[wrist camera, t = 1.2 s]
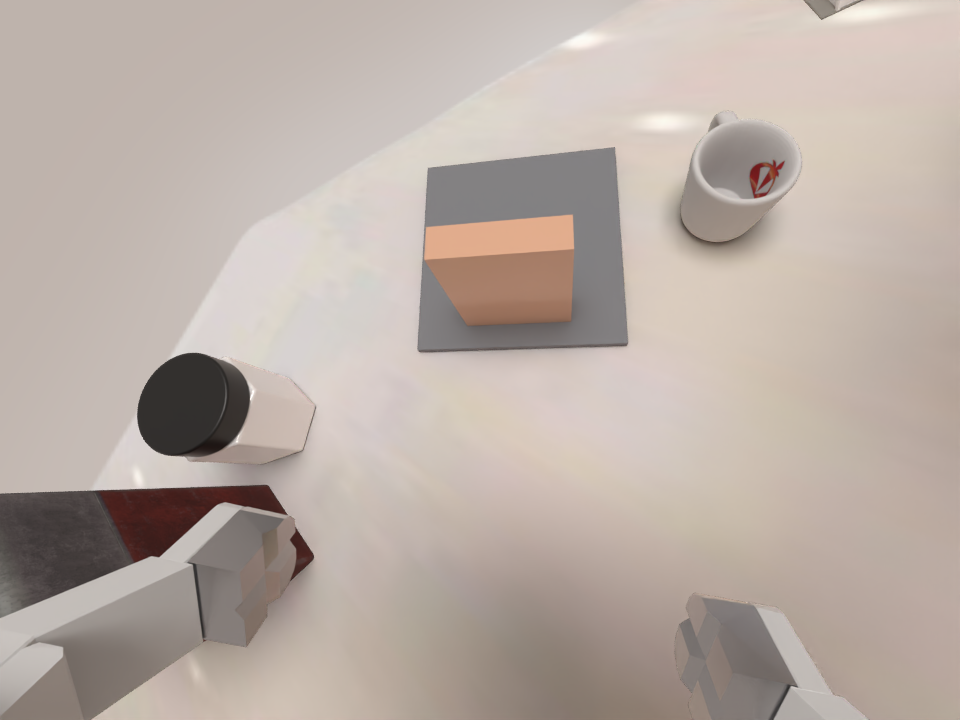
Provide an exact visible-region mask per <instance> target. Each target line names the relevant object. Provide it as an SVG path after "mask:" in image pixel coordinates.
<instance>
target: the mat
mask: <svg viewBox="0 0 960 720" xmlns="http://www.w3.org/2000/svg"><path fill="white" fill-rule="evenodd" d="M562 215H573V232H574V264H573V289H572V313H571V322H550V323H526V324H503V325H479V326H467V324H466V323H465V321H464V320H463V318H462V317H461V315H460V314H459V312H458V311H457V309H456V308H455V306H454V305H453V303H452V302H451V300H450V298H449V297H448V295H447V294H446V292H445V291H444V289H443V288H442V286H441V285H440V283H439V282H438V280H437V279H436V277H435V276H434V274H433V272H432V271H431V269H430V268H429V266H428V265H427V263H426V262H425V260H424V255H425V238H426V227H433V226H445V225H456V224H468V223H480V222H491V221H503V220H515V219H527V218H538V217H550V216H562ZM627 344H628V336H627V321H626V306H625V292H624V277H623V262H622V247H621V232H620V217H619V202H618V187H617V172H616V157H615V147H613V148H604V149H595V150H586V151H577V152H568V153H559V154H550V155H541V156H532V157H523V158H514V159H505V160H496V161H487V162H478V163H469V164H460V165H451V166H442V167H433V168H428V175H427V193H426V210H425V228H424V245H423V262H422V280H421V297H420V315H419V332H418V351H419V352H437V351H469V350H501V349H533V348H564V347H596V346H627Z"/></svg>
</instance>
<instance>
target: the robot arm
mask: <svg viewBox="0 0 960 720" xmlns="http://www.w3.org/2000/svg"><path fill="white" fill-rule="evenodd" d="M295 532H296V531H295V519H294V518H292V517H291V516H288V515H283V514H279V513H274V512H270V511H265V510H261V509H256V508H251V507H244V506H239V505H235V504H231V503H226V502H224V503H221V504H218V505H217V506H215V507H214V508H213V509H212V510H211V511H210V512H209V513H208V514H206V515H205V516H204V517H203V518H202V519H201V520H200V521H199V522H198V523H197V524H195V525H194V526H193V527H192V528H191V529H190V530H189V531H188V532H187V533H186V534H184V535H183V536H182V537H181V538H180V539H179V540H178V541H177V542H176V543H175V544H173V545H172V546H171V547H170V548H169V549H168V550H167V551H166V552H165V553H163V554H162V555H161V556H160V557H153V556H151V557H149V558H146V559H144V560H141V561H139V562H136V563H134V564H131V565H129V566H127V567H124V568H122V569H119V570H117V571H114V572H112V573H109V574H107V575H105V576H102V577H100V578H97V579H95V580H92V581H90V582H87V583H85V584H83V585H80V586H78V587H75V588H73V589H70V590H68V591H65V592H63V593H61V594H58V595H56V596H53V597H51V598H48V599H46V600H43V601H41V602H39V603H36V604H34V605H31V606H29V607H26V608H24V609H21V610H19V611H17V612H14V613H12V614H9V615H7V616H4V617H2V618H0V720H91V719H92V718H94V717H95V716H97V715H98V714H100V713H101V712H103V711H104V710H105V709H107V708H108V707H110V706H111V705H113V704H114V703H116V702H117V701H119V700H120V699H121V698H123V697H124V696H126V695H127V694H129V693H130V692H132V691H133V690H134V689H136V688H137V687H139V686H140V685H142V684H143V683H145V682H146V681H147V680H149V679H150V678H152V677H153V676H155V675H156V674H158V673H159V672H161V671H162V670H163V669H165V668H166V667H168V666H169V665H171V664H172V663H174V662H175V661H176V660H178V659H179V658H181V657H182V656H184V655H185V654H187V653H188V652H190V651H191V650H192V649H194V648H195V647H197V646H198V645H200V644H201V643H203V639H204V640H210V641H215V642H221V643H226V644H232V645H237V646H242V647H247V646H248V644H249V643H250V641H251V640H252V638H253V637H254V635H255V634H256V632H257V631H258V629H259V628H260V627H261V625H262V624H263V622H264V621H265V619H266V618H267V604H269V603H271V602H272V601H274V600H276V599H278V598H279V597H281V595H282V594H283V592H284V591H285V589H286V587H287V586H288V584H289V582H290V579H291V577H292V574H293V572H294V568H295V563H296V548H295V547H294V545H293V544H292V543H291V541H290V539H291V537H292V536H293V535H294V533H295ZM686 610H687V612H688V615H689V619H687V620H685V621H684V622H682V623H681V624H679V627H678V630H677V633H676V637H675V659H676V666H677V669H678V673H679V676H680V680H681V681H682V682H683V683H684V684H685V685H686V687H687V688H688V689H689V690H690V691H691V692H692V696H691V699H690V701H689V704H688V707H689V710H690V713H691V717H692V720H869V719H868V718H867V717H866V716H864V715H863V714H862V713H861V712H860V711H859V710H857V709H856V708H855V707H854V706H853V705H852V704H850V703H849V702H848V701H847V700H846V699H845V698H843V697H840V696H836V695H833V693H832V692H831V690H830V688H829V687H828V685H827V684H826V682H825V680H824V679H823V677H822V675H821V674H820V672H819V670H818V669H817V667H816V665H815V664H814V662H813V661H812V659H811V657H810V656H809V654H808V652H807V651H806V649H805V647H804V646H803V644H802V643H801V641H800V639H799V638H798V636H797V634H796V633H795V631H794V629H793V628H792V626H791V625H790V623H789V621H788V620H787V618H786V616H785V615H784V613H783V612H782V611H781V610H779V609H778V608H777V607H773V606H767V605H762V604H756V603H750V602H748V603H746V602H743V601H738V600H732V599H727V598H721V597H716V596H710V595H705V594H699V593H693V594H692V595H691V596H690V597H689V600H688V602H687V605H686Z"/></svg>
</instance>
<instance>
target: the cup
mask: <svg viewBox="0 0 960 720" xmlns="http://www.w3.org/2000/svg"><path fill="white" fill-rule="evenodd" d="M801 168H802V156H801V151H800V148H799V146H798V144H797V143H796V141H795V140H794V138H793V137H792V136H791V135H790V134H789V133H788V132H787V131H785V130H784V129H782V128H781V127H779V126H777V125H775V124H773V123H770V122H767V121H763V120H758V119H739V120H738V118H737V115H736V114H735V113H734V112H733V111H723V112H720V113H718V114H716V115H715V116H714V118H713V120H712V122H711V124H710V127H709V130H708V133H707V134H706V135H705V136H704V137H703V138H702V139H701V140H700V141H699V143H698V144H697V146H696V148H695V150H694V152H693V155H692V159H691V163H690V167H689V171H688V175H687V179H686V184H685V188H684V192H683V196H682V200H681V217H682V221H683V223H684V225H685V226H686V228H687V229H688V230H689V231H690V232H691V233H692V234H693V235H695V236H696V237H698V238H700V239H703V240H706V241H711V242H723V241H728V240H732V239H734V238H737V237H739V236H741V235H742V234H744V233H745V232H747V231H748V230H749V229H750V228H751V227H752V226H754V225H755V224H756V223H757V222H758V221H759V220H760V219H761V218H762V217H763V216H764V215H765V214H766V213H767V212H768V211H769V210H770V209H771V208H772V207H773V206H774V205H775V204H776V203H777V202H778V201H779V200H780V199H781V198H782V197H783V196H784V195H785V194H786V193H787V192H788V191H789V190H790V189H791V188H792V187H793V186H794V184H795V183H796V181H797V179H798V177H799V175H800V172H801Z"/></svg>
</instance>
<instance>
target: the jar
mask: <svg viewBox="0 0 960 720" xmlns="http://www.w3.org/2000/svg"><path fill="white" fill-rule="evenodd" d="M314 410H315V405H314V404H313V403H312V402H311V401H310V400H309V399H308V398H307V397H306V395H305V394H304V393H303V392H302V391H301V390H300V389H299V388H298V387H297V386H296V385H295V384H294V383H293V382H292V381H291V380H290V379H289V378H286V377H283V376H281V375H278V374H275V373H272V372H269V371H266V370H263V369H261V368H258V367H255V366H252V365H249V364H246V363H243V362H241V361H238V360H235V359H232V358H229V357H223V358H220V359H217V358H214V357H211V356H208V355H205V354H200V353H187V354H182V355H179V356H176V357H174V358H172V359H170V360H168V361H167V362H165V363H164V364H163V365H161V366H160V367H159V368H158V369H157V370H156V371H155V372H154V373H153V375H152V376H151V377H150V379H149V380H148V382H147V383H146V385H145V387H144V389H143V391H142V394H141V396H140V400H139V404H138V411H137V419H138V426H139V430H140V433H141V435H142V437H143V439H144V440H145V442H146V443H147V444H148V445H149V446H150V447H151V448H152V449H153V450H155V451H156V452H158V453H161V454H164V455H168V456H184V457H186V458H187V460H188V461H190V462H214V463H242V464H265V463H268V462H271V461H273V460H276V459H279V458H282V457H285V456H288V455H291V454H293V453H296V452H299V451H301V450H303V447H304V444H305V440H306V437H307V434H308V430H309V427H310V423H311V420H312V417H313V413H314Z"/></svg>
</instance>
